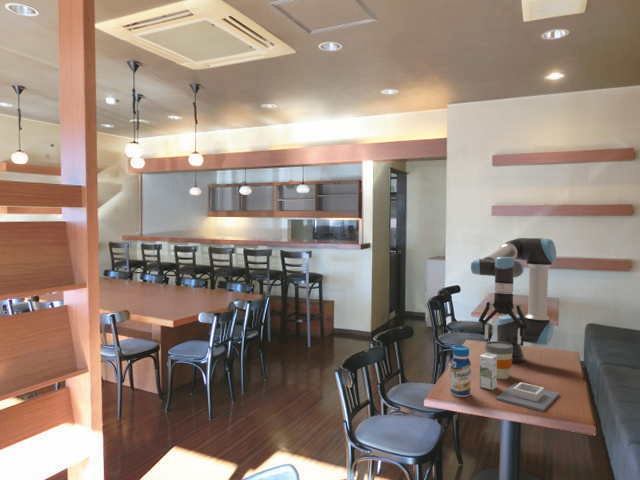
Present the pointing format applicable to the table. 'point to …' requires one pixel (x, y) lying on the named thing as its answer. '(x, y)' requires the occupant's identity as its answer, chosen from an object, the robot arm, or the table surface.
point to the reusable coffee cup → (501, 357)
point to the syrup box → (488, 371)
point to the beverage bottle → (460, 372)
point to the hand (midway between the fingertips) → (502, 341)
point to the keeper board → (528, 396)
